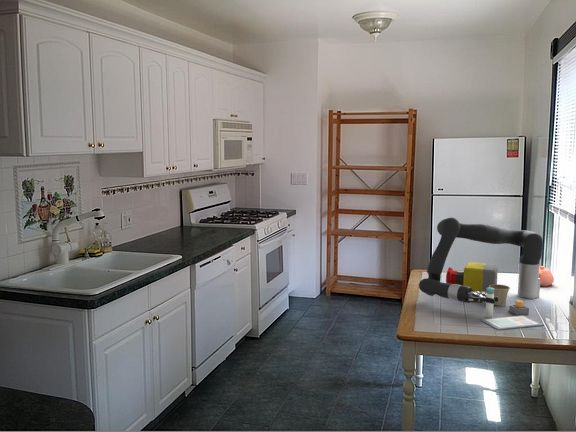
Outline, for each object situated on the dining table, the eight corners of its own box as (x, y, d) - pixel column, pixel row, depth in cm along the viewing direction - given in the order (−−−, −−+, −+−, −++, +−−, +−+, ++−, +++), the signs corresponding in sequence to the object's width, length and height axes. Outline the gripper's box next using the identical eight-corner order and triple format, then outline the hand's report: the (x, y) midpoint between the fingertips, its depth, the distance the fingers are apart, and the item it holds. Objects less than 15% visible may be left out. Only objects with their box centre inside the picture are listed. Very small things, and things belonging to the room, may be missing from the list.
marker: (490, 312, 248) (491, 287, 246) (495, 315, 244) (496, 289, 243) (483, 313, 247) (484, 287, 245) (488, 315, 244) (489, 289, 242)
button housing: (520, 310, 255) (520, 304, 255) (528, 314, 249) (529, 307, 249) (509, 311, 254) (509, 305, 254) (517, 315, 248) (517, 308, 248)
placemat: (523, 316, 247) (524, 314, 247) (543, 325, 234) (543, 324, 234) (480, 320, 242) (480, 318, 242) (498, 330, 229) (498, 328, 229)
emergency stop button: (448, 287, 295) (449, 260, 293) (496, 292, 285) (497, 264, 283) (443, 294, 282) (444, 266, 280) (494, 300, 272) (495, 270, 270)
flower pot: (499, 308, 259) (500, 290, 257) (484, 303, 267) (484, 285, 266) (513, 305, 263) (514, 287, 262) (497, 300, 271) (498, 283, 270)
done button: (519, 308, 254) (520, 299, 253) (524, 310, 250) (525, 301, 250) (513, 308, 253) (513, 300, 252) (518, 311, 249) (518, 302, 249)
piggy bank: (554, 283, 301) (555, 265, 300) (551, 289, 290) (552, 270, 288) (530, 280, 308) (531, 262, 307) (526, 286, 296) (527, 267, 295)
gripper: (452, 288, 249) (489, 295, 237) (467, 282, 259) (503, 288, 247) (452, 304, 250) (489, 312, 238) (467, 297, 260) (502, 305, 248)
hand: (496, 300), depth 243 cm, fingers closed on marker, 3 cm apart
